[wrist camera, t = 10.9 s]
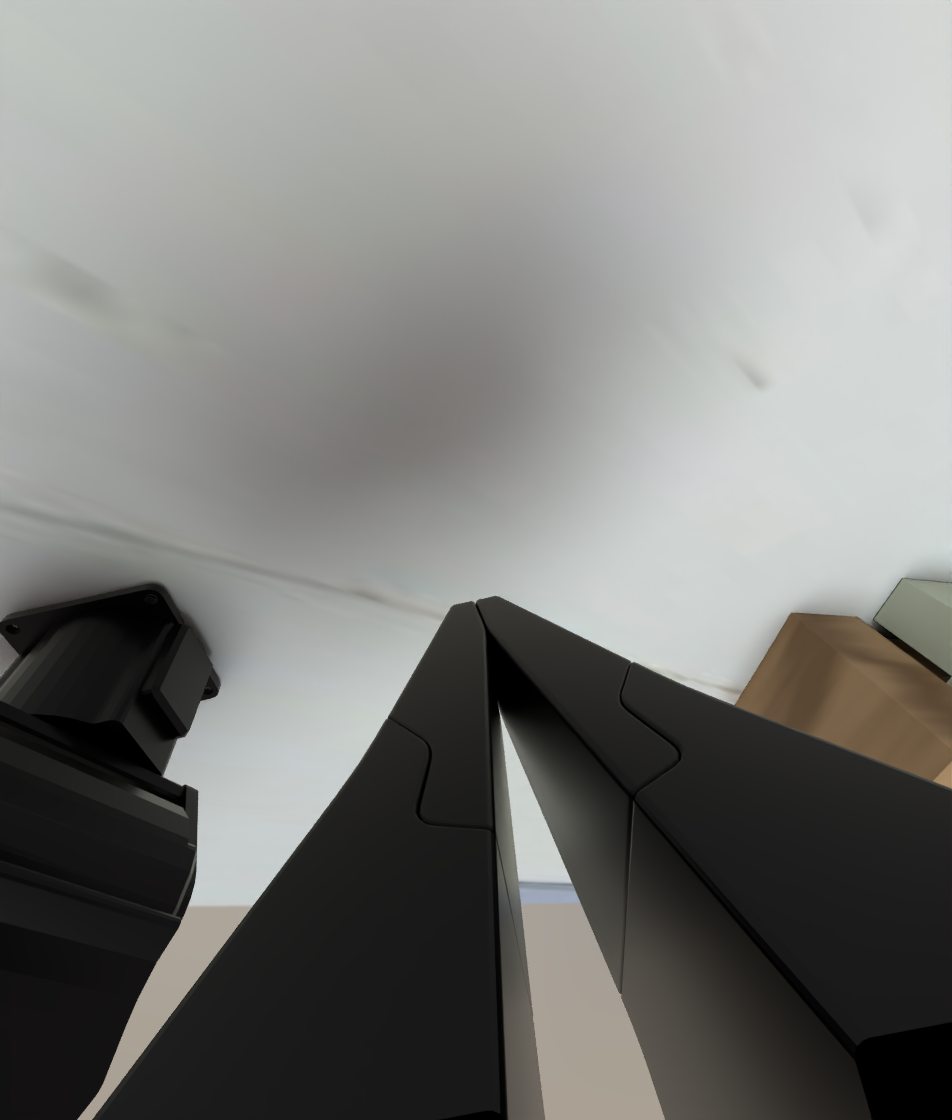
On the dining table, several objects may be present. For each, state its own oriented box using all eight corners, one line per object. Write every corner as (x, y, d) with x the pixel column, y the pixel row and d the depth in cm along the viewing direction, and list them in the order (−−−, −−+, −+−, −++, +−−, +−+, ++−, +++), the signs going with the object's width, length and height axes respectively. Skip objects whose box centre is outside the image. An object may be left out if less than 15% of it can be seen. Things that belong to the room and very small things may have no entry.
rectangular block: (725, 721, 34) (842, 875, 26) (791, 612, 30) (958, 754, 21) (873, 720, 37) (1020, 857, 29) (952, 623, 33) (1152, 749, 25)
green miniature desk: (776, 755, 37) (846, 842, 32) (907, 571, 30) (1029, 643, 24) (870, 753, 40) (950, 834, 34) (1014, 581, 32) (1147, 650, 27)
